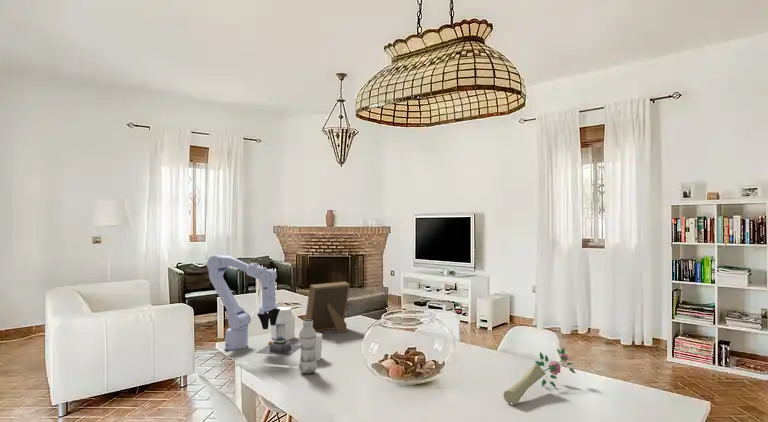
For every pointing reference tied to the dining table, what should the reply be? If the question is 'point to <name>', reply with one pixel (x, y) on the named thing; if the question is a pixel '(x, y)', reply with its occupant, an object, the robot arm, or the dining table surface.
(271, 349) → the stand base
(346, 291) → the photo frame
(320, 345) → the white cup
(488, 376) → the dining table surface
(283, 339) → the silver metal canister
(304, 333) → the plastic bottle
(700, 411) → the dining table surface
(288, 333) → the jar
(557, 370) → the flower vase
